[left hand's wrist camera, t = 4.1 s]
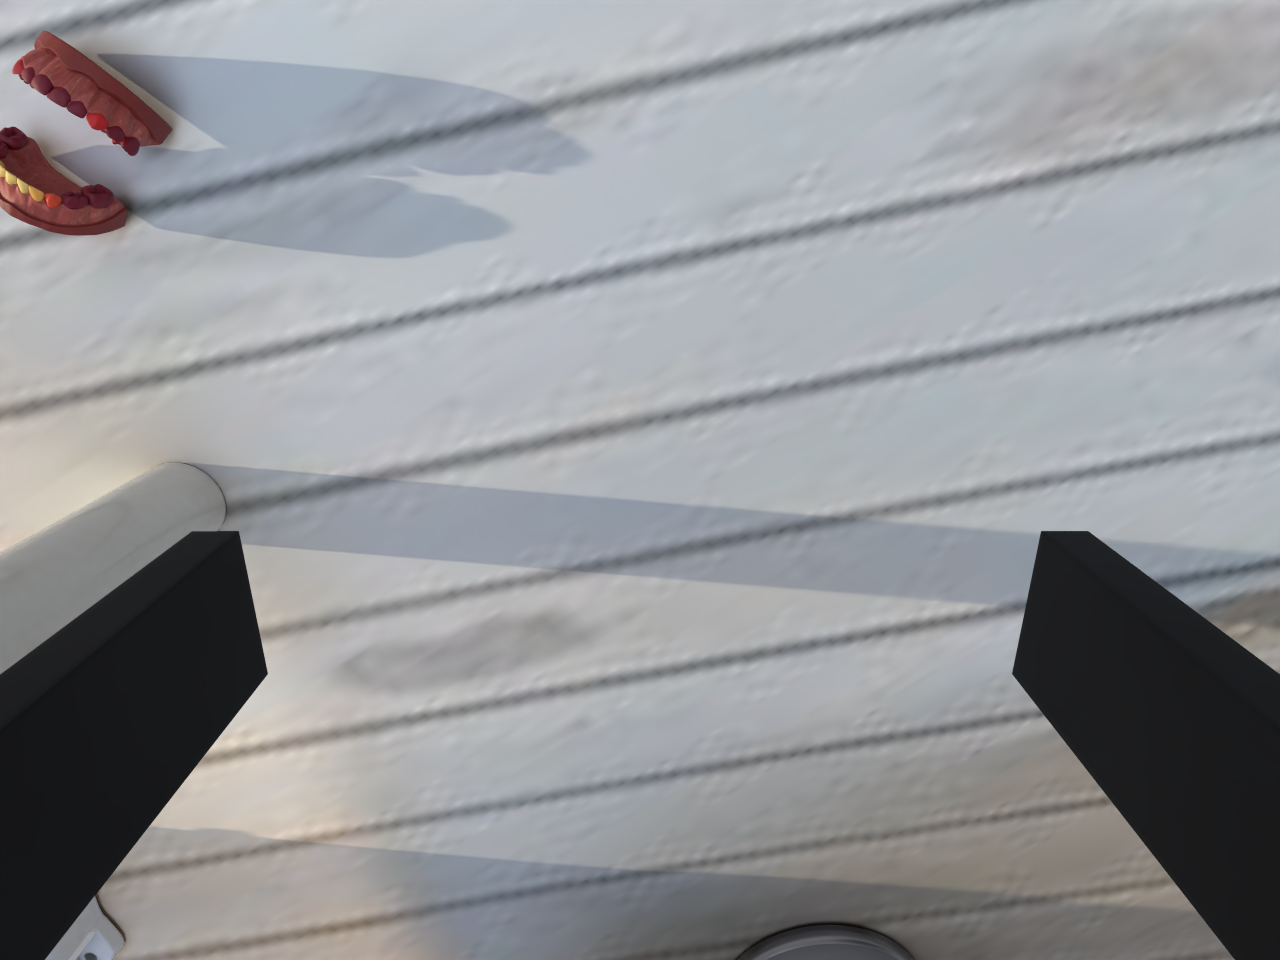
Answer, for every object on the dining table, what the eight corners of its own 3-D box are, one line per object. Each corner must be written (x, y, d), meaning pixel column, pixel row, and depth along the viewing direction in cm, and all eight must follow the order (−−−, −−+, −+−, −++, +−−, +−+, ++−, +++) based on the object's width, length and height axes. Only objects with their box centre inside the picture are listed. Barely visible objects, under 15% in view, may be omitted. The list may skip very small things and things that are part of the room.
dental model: (-71, 175, 32) (-1, 1, 30) (3, 176, 36) (70, 22, 34) (59, 257, 34) (135, 96, 31) (117, 249, 37) (188, 106, 35)
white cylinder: (121, 486, 42) (-289, 716, 23) (187, 447, 41) (-184, 652, 23) (179, 554, 43) (-165, 821, 25) (244, 517, 43) (-62, 764, 24)
